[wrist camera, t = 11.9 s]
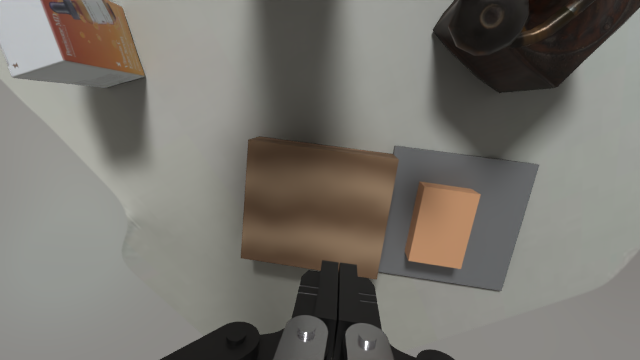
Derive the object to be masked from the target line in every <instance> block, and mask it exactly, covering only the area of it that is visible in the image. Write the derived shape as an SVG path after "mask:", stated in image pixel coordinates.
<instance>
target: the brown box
mask: <svg viewBox="0 0 640 360" xmlns="http://www.w3.org/2000/svg"><path fill="white" fill-rule="evenodd" d="M398 162H399V159H398V158H397V157H396V156H395V155H393V154H388V153H380V152H373V151H365V150H358V149H350V148H343V147H335V146H327V145H320V144H312V143H305V142H297V141H290V140H282V139H274V138H267V137H256V138H252V139H249V140H248V154H247V170H246V185H245V201H244V216H243V232H242V247H241V258H244V259H250V260H257V261H263V262H269V263H276V264H282V265H288V266H295V267H301V268H308V269H314V270H320V271H321V264H322V260H325V261H333V262H339V264H340V262H341V263H348V264H356V265H357V273H358V276H359V277H365V278H371V279H377V275H378V269H379V264H380V259H381V253H382V248H383V243H384V237H385V232H386V226H387V221H388V216H389V210H390V205H391V200H392V194H393V189H394V183H395V178H396V173H397V167H398ZM338 271H339V265H338Z"/></svg>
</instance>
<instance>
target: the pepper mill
mask: <svg viewBox="0 0 640 360" xmlns="http://www.w3.org/2000/svg"><path fill="white" fill-rule="evenodd" d="M639 8H640V0H454V1H453V3H452V4H451V5H450V6H449V8H448V9H447V10H446V11H445V12H444V13H443V15H442V16H441V18H440V19H439V21H438V22H437V24H436V26H435V27H434V29H433V31H434V32H435V34H436V35H437V36H438V37H439V39H440V40H441V41H442V42H443V44H444V45H445V46H446V47H447V49H448V50H449V51H450V52H451V53H452V54H454V55H455V56H456V57H457V58H458V59H459V60H460V61H461V62H462V63H463V64H464V65H465V66H466V67H467V68H468V69H469V70H470V71H471V72H472V73H473V74H474V75H475V76H476V77H477V78H479V79H480V80H482V81H483V82H484V83H486V84H487V85H489V86H490V87H492V88H493V89H495V90H496V91H498V92H499V93H502V92H514V91H526V90H538V89H549V88H555V87H558V86H559V85H560V84H561V83H562V82H563V81H564V80H565V79H566V78H567V77H568V76H569V75H570V74H571V73H572V72H573V71H574V70H575V69H576V68H577V67H578V66H579V65H580V64H581V63H582V62H583V61H584V60H585V59H587V58H588V57H589V56H590V55H591V54H592V53H593V52H594V51H595V50H596V49H597V48H598V47H599V46H600V45H601V44H603V43H604V42H605V41H606V40H607V39H608V38H609V37H610V36H611V35H612V34H613V33H615V32H616V31H617V30H618V29H619V28H620V27H621V26H622V25H623V24H624V23H625V22H626V21H627V20H628V19H629V18H630V17H631V16H632V15H633V14H634V13H635V12H636V11H637V10H638V9H639Z"/></svg>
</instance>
